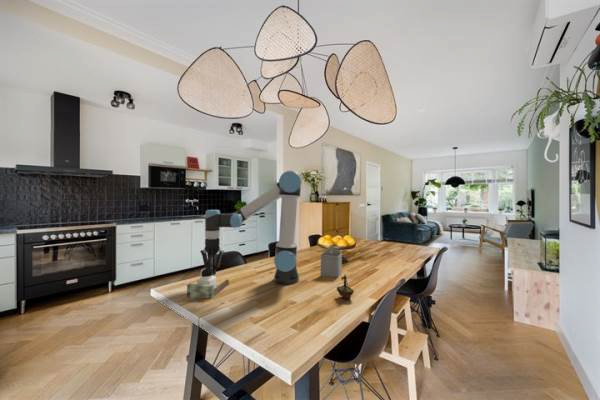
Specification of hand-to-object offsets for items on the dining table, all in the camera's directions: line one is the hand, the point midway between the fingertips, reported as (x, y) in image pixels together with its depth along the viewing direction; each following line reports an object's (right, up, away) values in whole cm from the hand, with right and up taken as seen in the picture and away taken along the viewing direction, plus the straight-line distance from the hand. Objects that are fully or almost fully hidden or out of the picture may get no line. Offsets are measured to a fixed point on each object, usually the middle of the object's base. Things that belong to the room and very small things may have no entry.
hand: (211, 280), depth 131 cm
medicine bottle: (-1, -4, -5) cm, 7 cm away
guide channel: (0, -4, -3) cm, 5 cm away
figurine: (+71, -5, -12) cm, 72 cm away
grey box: (+71, -5, +23) cm, 75 cm away
